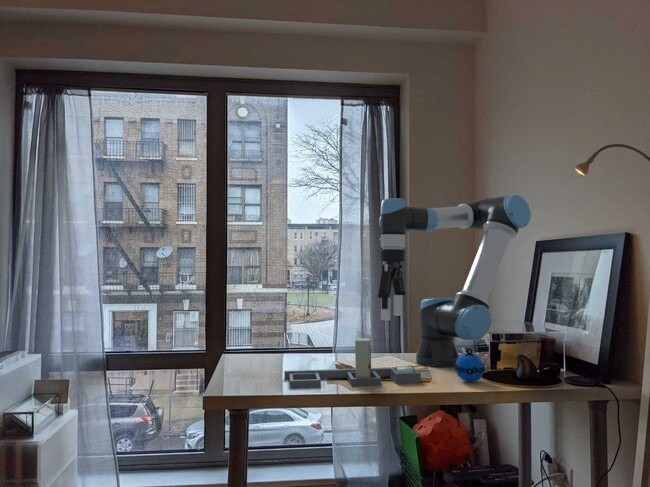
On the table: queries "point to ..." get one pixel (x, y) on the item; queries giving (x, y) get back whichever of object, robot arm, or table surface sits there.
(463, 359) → the ornament
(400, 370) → the release button
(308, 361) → the table surface
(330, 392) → the table surface
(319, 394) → the table surface
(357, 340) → the box
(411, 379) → the button collar
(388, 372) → the panel
